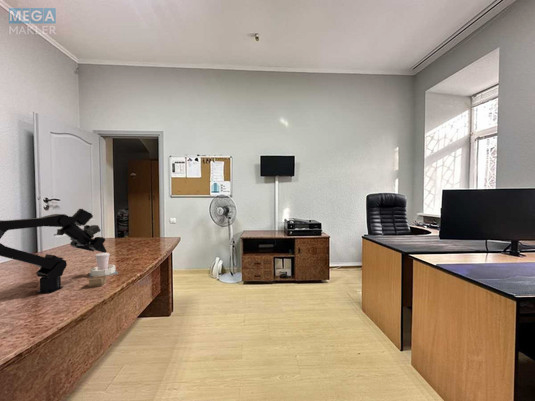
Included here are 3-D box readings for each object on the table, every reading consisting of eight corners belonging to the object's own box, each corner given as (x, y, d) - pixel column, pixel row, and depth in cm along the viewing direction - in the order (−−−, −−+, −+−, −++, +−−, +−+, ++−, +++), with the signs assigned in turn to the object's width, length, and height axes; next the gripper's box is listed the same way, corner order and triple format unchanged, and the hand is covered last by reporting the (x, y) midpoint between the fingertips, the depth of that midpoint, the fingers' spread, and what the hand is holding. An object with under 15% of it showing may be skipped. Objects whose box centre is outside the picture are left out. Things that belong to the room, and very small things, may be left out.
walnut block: (101, 287, 107) (101, 278, 107) (89, 288, 106) (88, 279, 106) (106, 283, 112) (106, 275, 112) (94, 284, 111) (94, 276, 111)
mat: (118, 274, 125) (118, 273, 125) (90, 279, 117) (90, 278, 117) (114, 269, 134) (114, 268, 134) (88, 273, 126) (88, 273, 126)
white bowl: (105, 276, 120) (105, 270, 120) (85, 276, 121) (85, 270, 121) (119, 270, 131) (119, 264, 131) (101, 270, 131) (101, 264, 131)
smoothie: (111, 269, 130) (111, 244, 129) (108, 273, 124) (107, 246, 123) (98, 271, 128) (97, 245, 127) (93, 274, 122) (92, 247, 121)
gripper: (101, 220, 116) (122, 239, 126) (76, 219, 122) (98, 237, 133) (83, 239, 108) (108, 258, 119) (58, 237, 115) (83, 255, 125)
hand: (99, 251), depth 124 cm, fingers open, 9 cm apart
